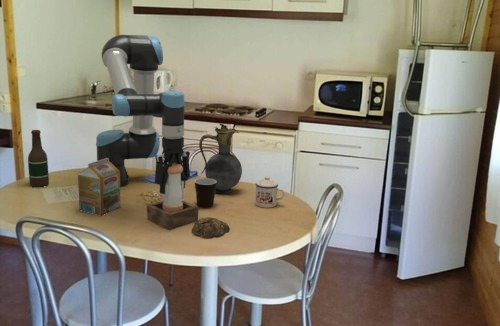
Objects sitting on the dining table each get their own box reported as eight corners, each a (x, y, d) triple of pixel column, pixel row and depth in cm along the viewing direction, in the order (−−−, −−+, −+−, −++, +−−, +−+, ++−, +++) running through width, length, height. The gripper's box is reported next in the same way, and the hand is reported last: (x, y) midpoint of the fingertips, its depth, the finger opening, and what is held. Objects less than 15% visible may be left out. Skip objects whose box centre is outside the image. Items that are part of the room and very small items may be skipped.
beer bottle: (36, 182, 210) (32, 128, 204) (52, 183, 210) (49, 129, 203) (25, 187, 203) (21, 131, 197) (43, 188, 202) (39, 132, 196)
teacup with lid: (252, 206, 192) (253, 178, 189) (257, 199, 201) (258, 172, 198) (281, 210, 190) (283, 182, 187) (285, 203, 198) (287, 175, 195)
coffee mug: (212, 210, 186) (213, 185, 184) (191, 207, 188) (191, 183, 185) (220, 200, 197) (221, 177, 195) (200, 198, 199) (200, 175, 196)
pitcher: (237, 197, 202) (239, 127, 195) (194, 192, 207) (195, 123, 199) (243, 189, 213) (246, 123, 205) (202, 185, 217) (204, 119, 209)
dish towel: (199, 176, 232) (199, 170, 231) (169, 188, 212) (169, 182, 211) (170, 170, 240) (170, 165, 239) (139, 181, 219) (139, 175, 219)
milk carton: (99, 202, 189) (98, 155, 184) (120, 207, 184) (119, 159, 180) (79, 210, 180) (77, 161, 175) (101, 216, 175) (99, 165, 170)
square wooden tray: (147, 219, 174) (146, 205, 172) (175, 211, 183) (175, 197, 182) (169, 230, 165) (169, 215, 164) (198, 221, 175) (198, 206, 173)
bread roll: (202, 222, 174) (202, 209, 173) (233, 229, 169) (233, 216, 168) (184, 235, 162) (184, 221, 161) (217, 242, 158) (217, 228, 157)
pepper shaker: (186, 214, 172) (187, 162, 168) (167, 217, 168) (167, 164, 164) (177, 208, 178) (177, 158, 173) (159, 211, 174) (159, 160, 169)
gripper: (156, 142, 157) (156, 208, 163) (201, 135, 171) (200, 196, 177) (142, 138, 162) (143, 202, 167) (187, 131, 176) (186, 191, 182)
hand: (172, 199), depth 172 cm, fingers closed on pepper shaker, 7 cm apart
